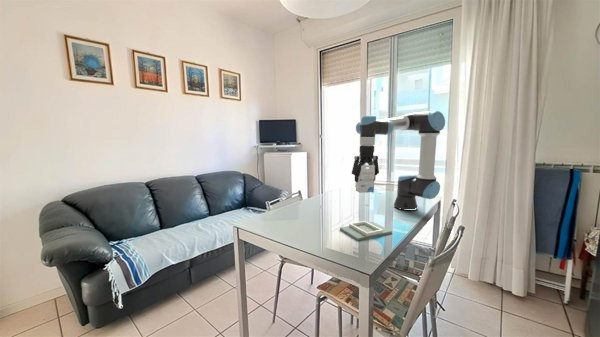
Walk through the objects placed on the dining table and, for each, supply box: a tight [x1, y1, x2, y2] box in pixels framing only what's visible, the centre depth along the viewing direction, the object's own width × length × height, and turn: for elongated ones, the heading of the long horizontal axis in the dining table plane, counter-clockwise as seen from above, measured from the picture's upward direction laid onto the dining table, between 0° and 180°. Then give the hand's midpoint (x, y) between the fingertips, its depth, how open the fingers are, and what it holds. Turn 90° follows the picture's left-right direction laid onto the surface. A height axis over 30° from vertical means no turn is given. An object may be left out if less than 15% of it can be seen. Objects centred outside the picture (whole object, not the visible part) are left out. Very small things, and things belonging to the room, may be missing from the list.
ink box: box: [355, 164, 376, 194], centre depth 133 cm, size 9×5×15 cm, turn 104°
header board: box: [339, 220, 393, 242], centre depth 129 cm, size 22×15×3 cm
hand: (364, 187), depth 133 cm, fingers closed on ink box, 9 cm apart
